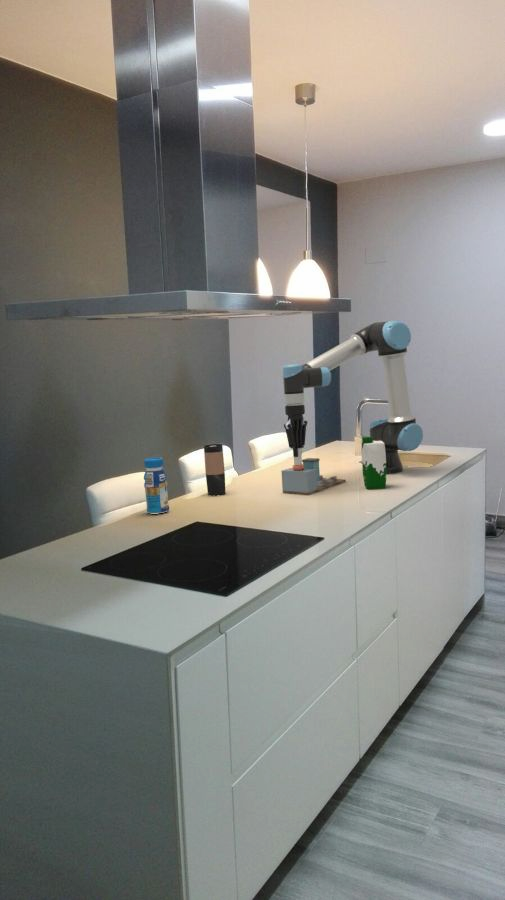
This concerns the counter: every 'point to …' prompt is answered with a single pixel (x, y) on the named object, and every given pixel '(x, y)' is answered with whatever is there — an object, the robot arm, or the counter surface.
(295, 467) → the button
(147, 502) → the beverage bottle
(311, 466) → the carriage
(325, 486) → the rail track
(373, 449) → the milk carton
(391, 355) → the robot arm
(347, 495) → the counter surface
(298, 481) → the cabinet
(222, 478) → the travel mug
